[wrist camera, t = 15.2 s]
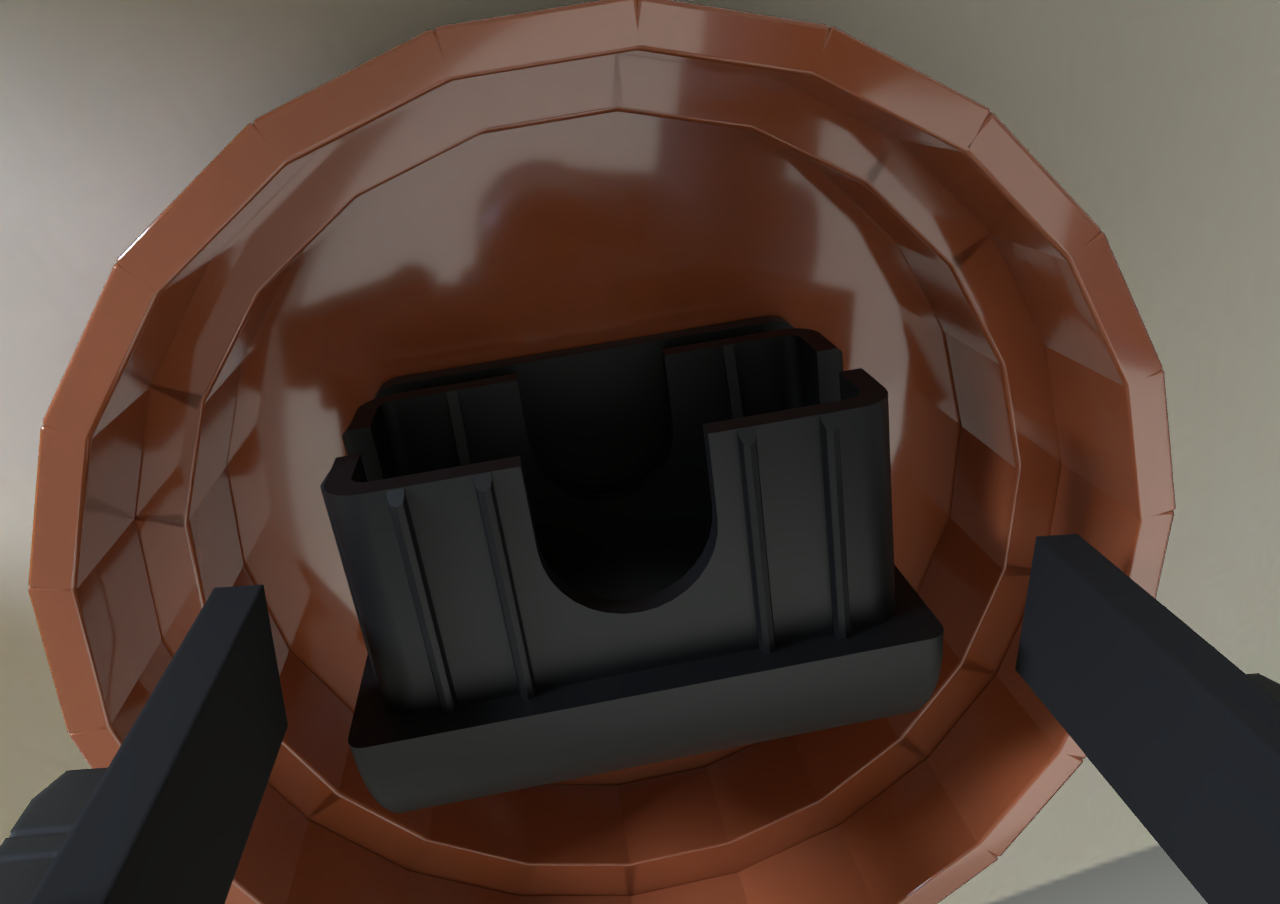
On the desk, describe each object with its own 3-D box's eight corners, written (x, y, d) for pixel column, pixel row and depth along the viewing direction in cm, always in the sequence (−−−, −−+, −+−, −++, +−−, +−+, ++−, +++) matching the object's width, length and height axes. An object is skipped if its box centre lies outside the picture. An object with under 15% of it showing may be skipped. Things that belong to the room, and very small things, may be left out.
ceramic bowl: (1069, 14, 20) (1289, -6, 14) (960, 782, 27) (1077, 965, 22) (63, 18, 18) (-140, -6, 12) (239, 855, 25) (163, 1081, 19)
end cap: (421, 667, 23) (389, 894, 16) (346, 383, 20) (274, 526, 14) (832, 590, 23) (951, 780, 17) (814, 306, 21) (948, 408, 14)
